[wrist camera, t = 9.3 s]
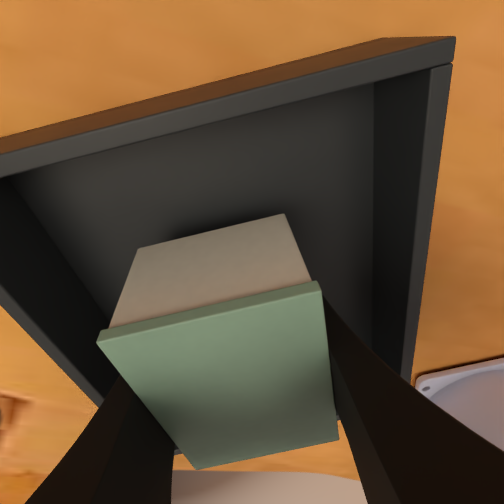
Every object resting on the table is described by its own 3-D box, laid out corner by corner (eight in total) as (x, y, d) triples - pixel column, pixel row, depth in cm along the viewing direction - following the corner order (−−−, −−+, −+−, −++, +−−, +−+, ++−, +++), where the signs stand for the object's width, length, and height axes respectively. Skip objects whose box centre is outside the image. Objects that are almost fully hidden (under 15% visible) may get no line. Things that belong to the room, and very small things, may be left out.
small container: (310, 347, 14) (339, 440, 11) (200, 372, 14) (196, 470, 11) (286, 209, 10) (322, 290, 7) (133, 246, 10) (94, 343, 7)
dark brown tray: (376, 347, 18) (407, 406, 15) (159, 395, 18) (148, 461, 15) (383, 37, 9) (458, 35, 6) (-20, 142, 10) (-118, 184, 7)
